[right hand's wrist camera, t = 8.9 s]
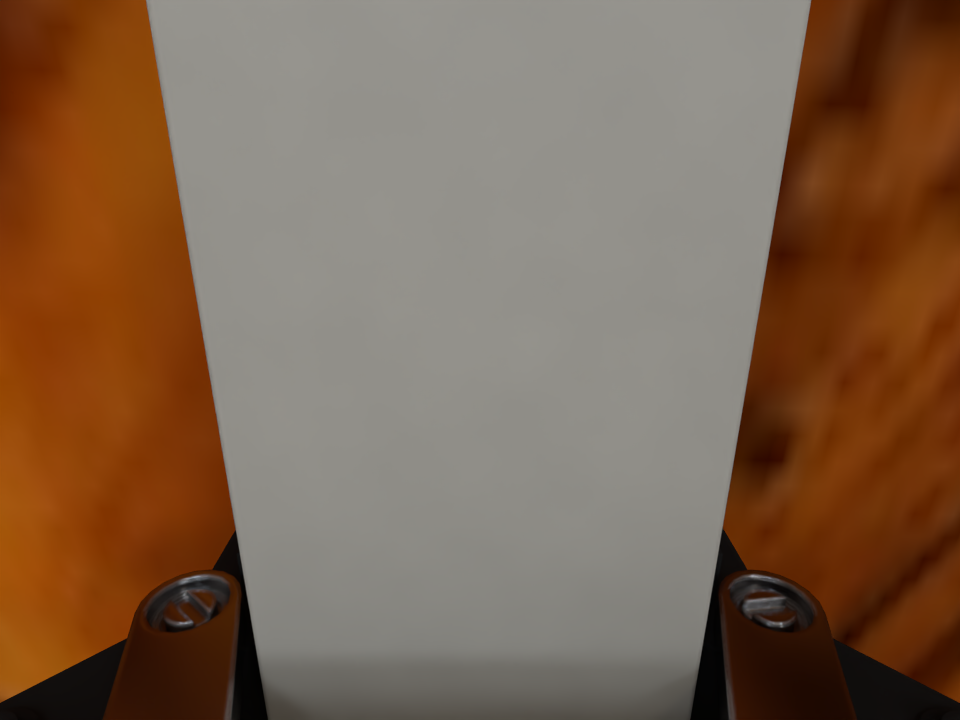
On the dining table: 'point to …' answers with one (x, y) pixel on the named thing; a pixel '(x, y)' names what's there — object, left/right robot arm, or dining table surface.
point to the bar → (478, 333)
